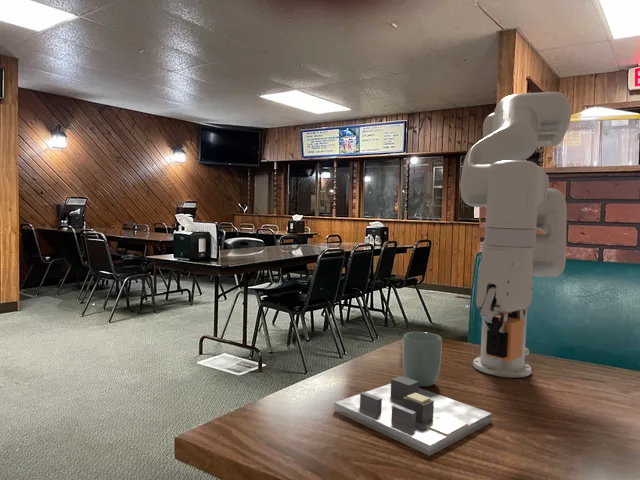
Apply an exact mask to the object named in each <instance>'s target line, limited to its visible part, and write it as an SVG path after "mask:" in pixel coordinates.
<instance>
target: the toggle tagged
mask: <svg viewBox="0 0 640 480" xmlns="http://www.w3.org/2000/svg"><path fill="white" fill-rule="evenodd" d="M403 407H404V408H407V409H409V410H412V411H414V412H416V421H417V422H419V423H422V424H423V423H425V422H427V421H429V420H431V419H433V409H434V401H433V400H430V398H429V397H426V396H423V395H421V394H418V393H413V394H410V395H408V396H406V397H404V398H403Z"/></svg>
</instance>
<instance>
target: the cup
mask: <svg viewBox="0 0 640 480" xmlns="http://www.w3.org/2000/svg"><path fill="white" fill-rule="evenodd" d="M442 343H443V341H442V336H440V335H438V334H436V333H432V332H426V331H425V332H424V331H410V332H409V331H408V332H406V333H404V335H403V342H402V367H403V368H402V369H403V375H404V377H406V378H409V379H412V380H415V381H418V382H419V388H421V387H422V388H423V387H424V388H425V387H426V388H427V387H431V386H433V385H434V384H435V383H436V382H437V381H438V379H439V376H440V370H441V363H442V362H441V361H442V346H443V345H442Z"/></svg>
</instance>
